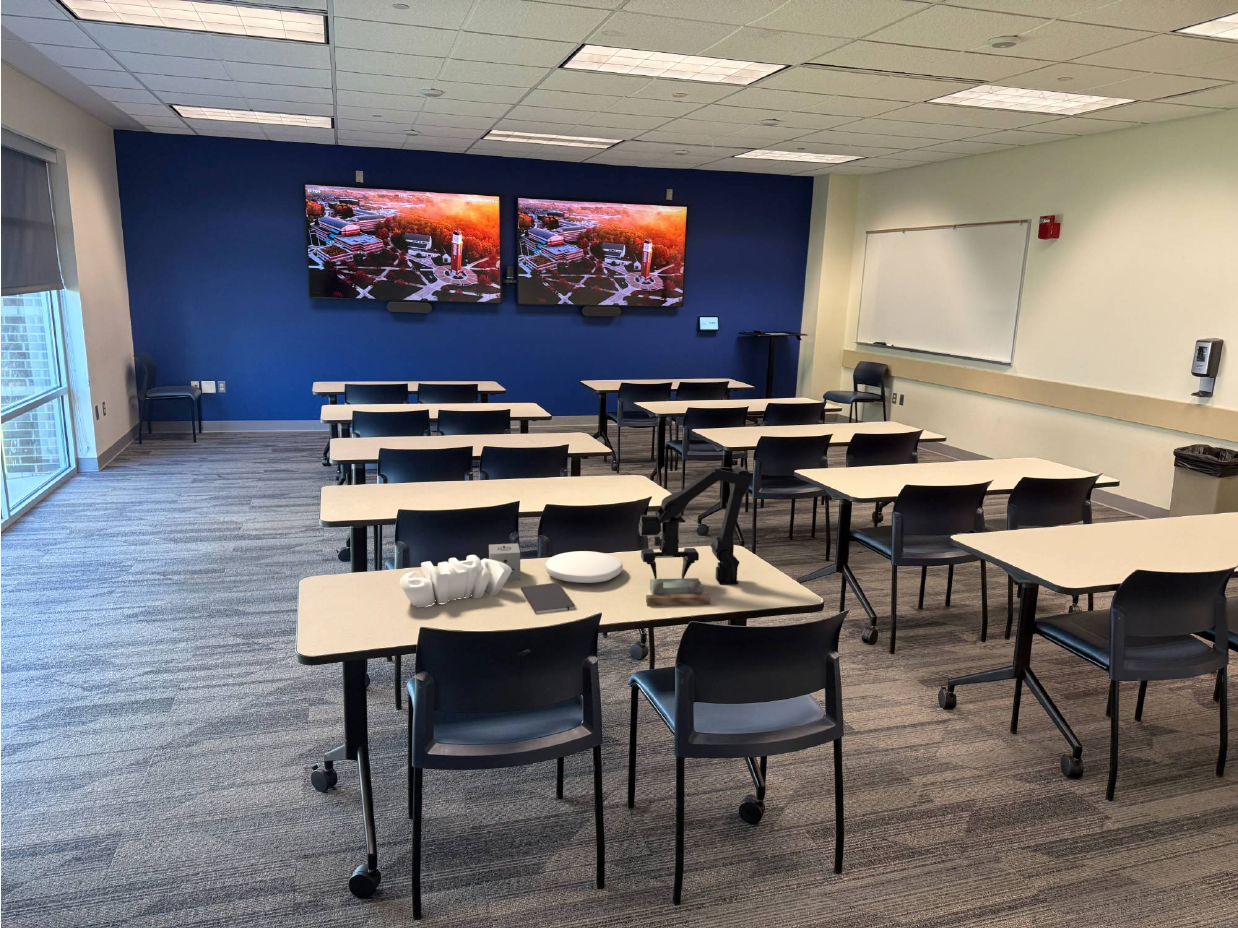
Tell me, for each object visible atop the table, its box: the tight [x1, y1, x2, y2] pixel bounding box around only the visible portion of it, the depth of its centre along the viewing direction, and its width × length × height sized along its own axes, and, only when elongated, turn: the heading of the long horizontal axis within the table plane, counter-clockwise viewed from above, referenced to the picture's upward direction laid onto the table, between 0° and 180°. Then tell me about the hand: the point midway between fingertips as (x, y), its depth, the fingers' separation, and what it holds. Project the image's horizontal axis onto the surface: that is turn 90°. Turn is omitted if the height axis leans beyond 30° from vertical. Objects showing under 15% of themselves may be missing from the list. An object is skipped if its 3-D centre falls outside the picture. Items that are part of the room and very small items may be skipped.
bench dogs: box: [645, 579, 711, 607], centre depth 256 cm, size 20×6×6 cm, turn 96°
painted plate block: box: [649, 577, 704, 595], centre depth 263 cm, size 16×8×4 cm, turn 96°
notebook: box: [520, 582, 576, 615], centre depth 257 cm, size 13×2×21 cm
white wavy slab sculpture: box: [399, 554, 513, 607], centre depth 257 cm, size 35×16×11 cm, turn 116°
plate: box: [544, 550, 624, 584], centre depth 279 cm, size 28×6×27 cm
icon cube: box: [488, 543, 522, 582], centre depth 276 cm, size 10×10×10 cm
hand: (669, 579), depth 272 cm, fingers open, 9 cm apart
